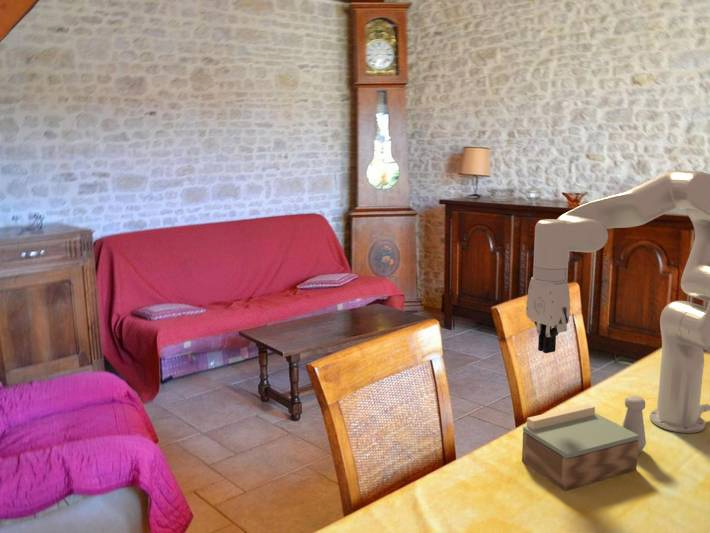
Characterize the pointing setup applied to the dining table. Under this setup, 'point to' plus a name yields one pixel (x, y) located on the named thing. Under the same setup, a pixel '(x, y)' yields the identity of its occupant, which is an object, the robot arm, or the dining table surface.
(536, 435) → the lid
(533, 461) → the toolbox
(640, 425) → the salt shaker
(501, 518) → the dining table surface
